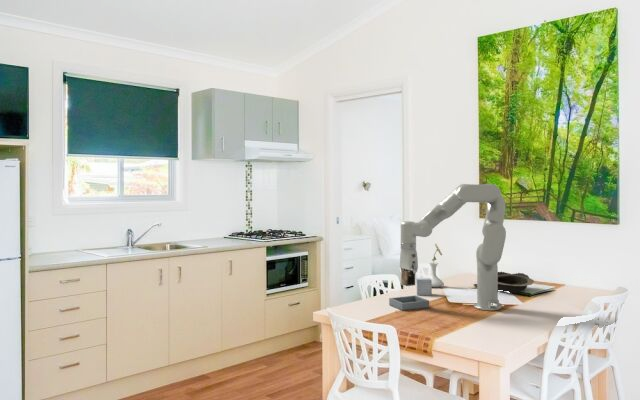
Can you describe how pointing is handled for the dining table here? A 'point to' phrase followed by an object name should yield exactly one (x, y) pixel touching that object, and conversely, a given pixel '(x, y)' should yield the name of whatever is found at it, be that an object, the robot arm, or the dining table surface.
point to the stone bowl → (513, 282)
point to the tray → (409, 303)
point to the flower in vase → (435, 280)
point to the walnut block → (405, 278)
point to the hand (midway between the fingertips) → (408, 282)
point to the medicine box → (424, 286)
